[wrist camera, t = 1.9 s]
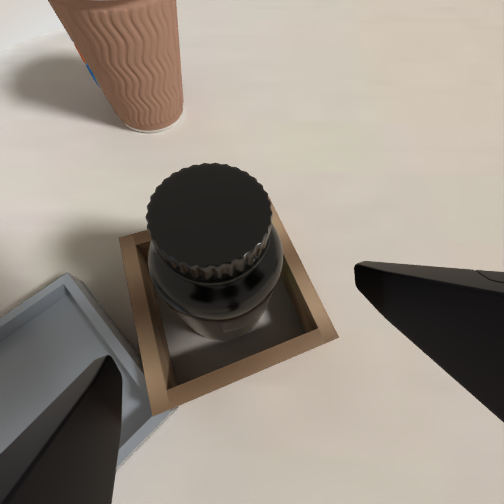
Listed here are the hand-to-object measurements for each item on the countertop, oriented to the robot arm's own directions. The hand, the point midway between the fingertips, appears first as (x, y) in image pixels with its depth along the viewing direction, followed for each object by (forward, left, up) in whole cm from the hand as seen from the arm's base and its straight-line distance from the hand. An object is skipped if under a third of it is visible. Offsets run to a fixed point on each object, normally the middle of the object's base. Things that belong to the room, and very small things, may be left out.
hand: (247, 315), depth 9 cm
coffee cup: (+20, +19, -11) cm, 30 cm away
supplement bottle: (+3, +3, -11) cm, 12 cm away
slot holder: (+3, +3, -11) cm, 12 cm away
